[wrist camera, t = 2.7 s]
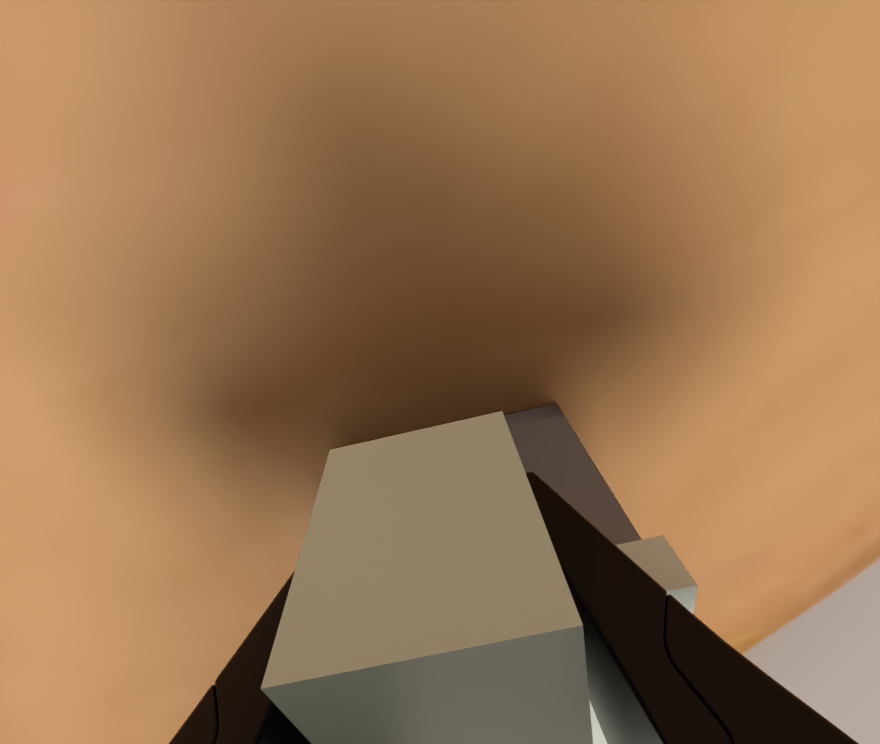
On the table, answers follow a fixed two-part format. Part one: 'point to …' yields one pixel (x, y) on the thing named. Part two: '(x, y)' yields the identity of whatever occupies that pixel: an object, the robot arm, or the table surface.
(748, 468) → the table surface
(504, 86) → the table surface
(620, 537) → the tub
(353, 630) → the cube on cream block
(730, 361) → the table surface
